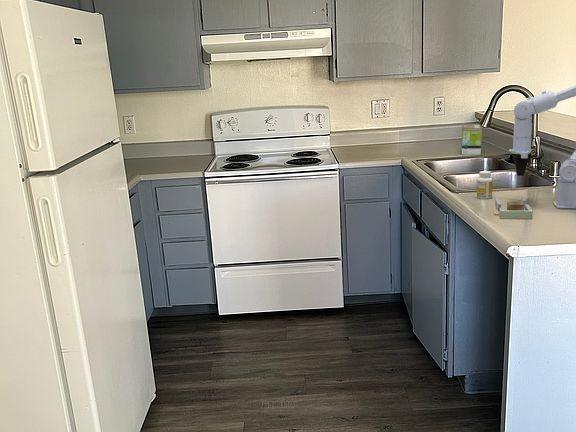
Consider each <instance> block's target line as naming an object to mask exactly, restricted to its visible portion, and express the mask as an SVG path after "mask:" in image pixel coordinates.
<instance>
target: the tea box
mask: <svg viewBox="0 0 576 432" xmlns="http://www.w3.org/2000/svg"><path fill="white" fill-rule="evenodd" d="M461 125H462V127H461V148H460V149H461V155H462V156H481V153H482V137H483V135H482V134H483V127H481V126H482V125H481V124H461ZM480 125H481V126H480Z"/></svg>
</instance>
